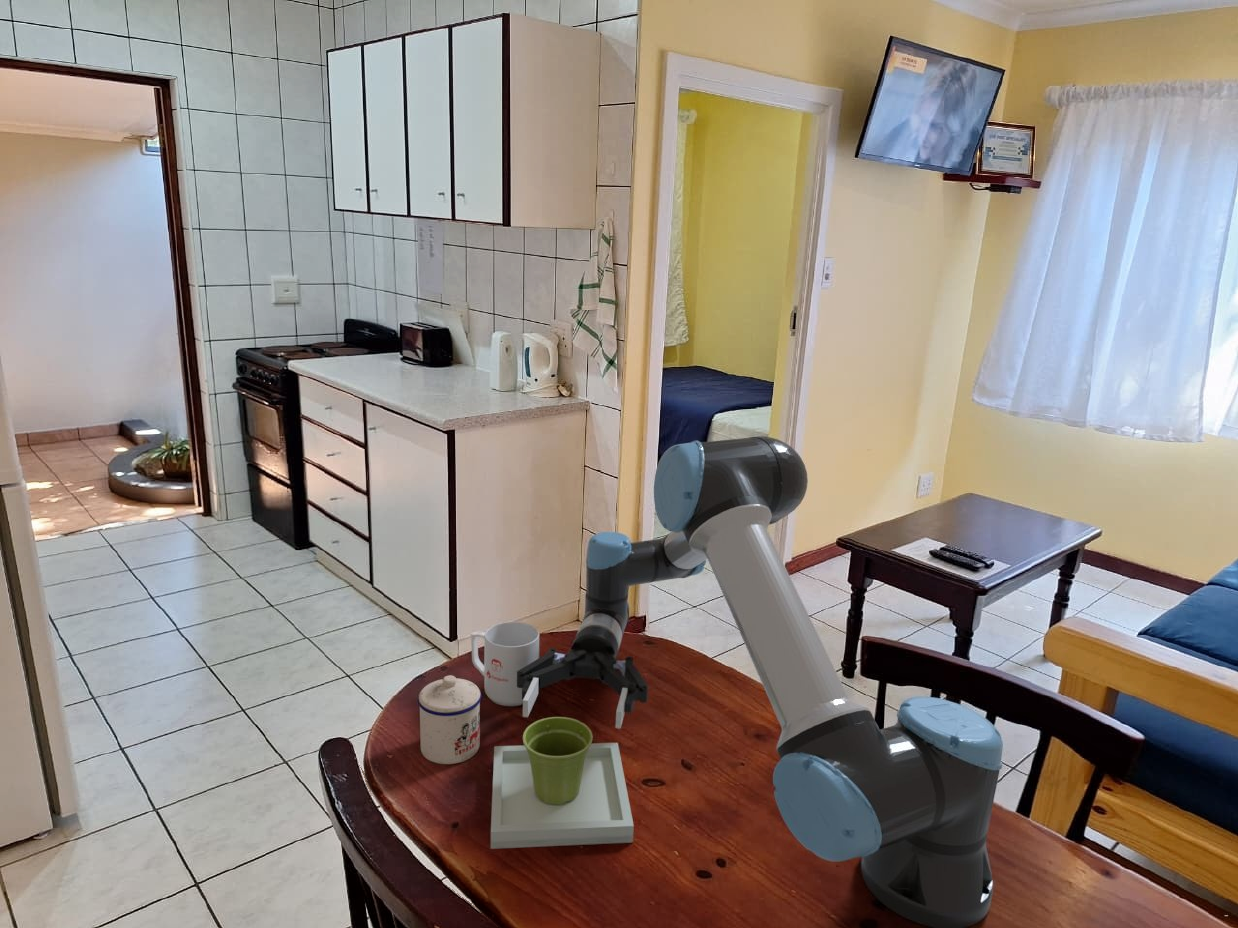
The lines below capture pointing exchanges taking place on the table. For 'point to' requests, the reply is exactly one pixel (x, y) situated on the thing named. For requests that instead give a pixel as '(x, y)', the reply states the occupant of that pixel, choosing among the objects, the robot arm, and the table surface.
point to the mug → (505, 659)
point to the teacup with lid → (449, 720)
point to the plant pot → (557, 757)
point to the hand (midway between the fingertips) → (571, 714)
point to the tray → (576, 822)
